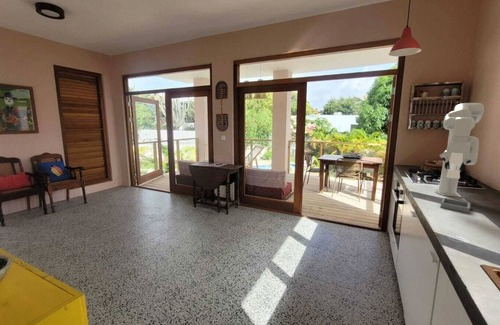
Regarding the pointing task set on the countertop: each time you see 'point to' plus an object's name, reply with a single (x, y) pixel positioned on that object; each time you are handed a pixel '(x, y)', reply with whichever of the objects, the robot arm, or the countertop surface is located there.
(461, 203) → the tray
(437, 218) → the countertop surface
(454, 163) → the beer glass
